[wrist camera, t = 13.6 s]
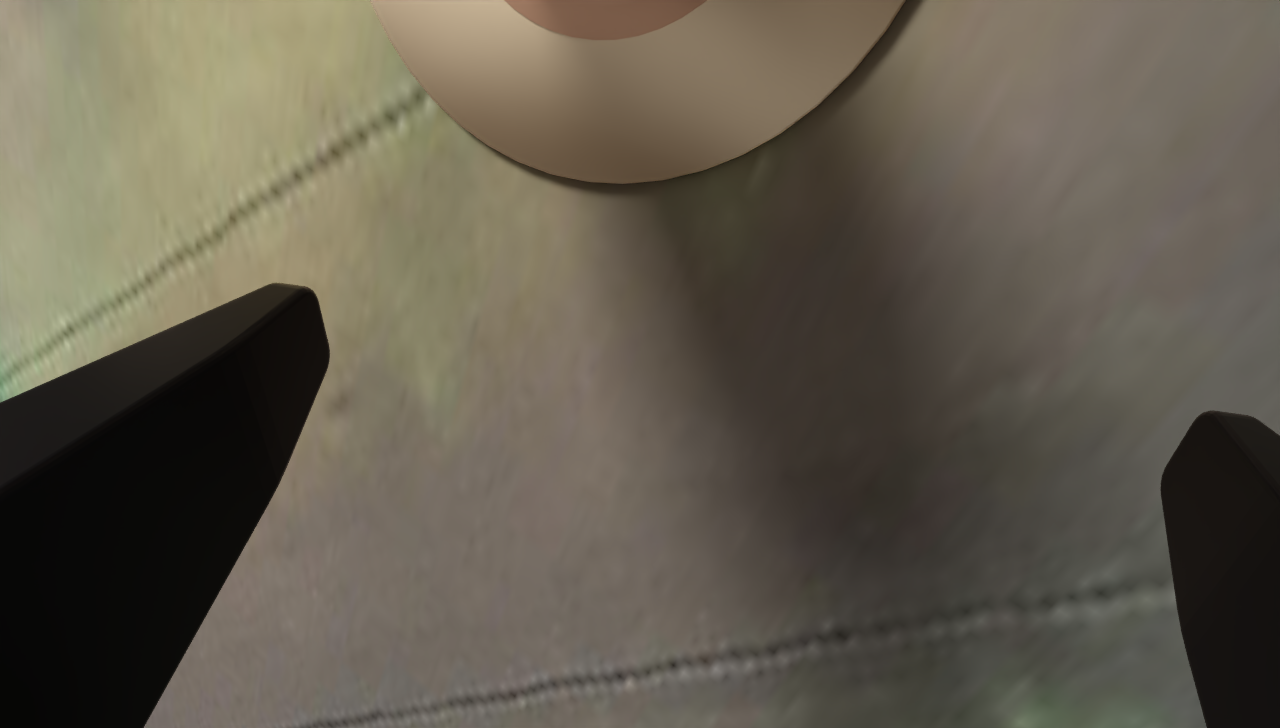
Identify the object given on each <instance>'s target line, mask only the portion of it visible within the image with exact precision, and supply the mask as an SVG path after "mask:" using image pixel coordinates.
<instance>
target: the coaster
mask: <svg viewBox="0 0 1280 728" xmlns="http://www.w3.org/2000/svg"><path fill="white" fill-rule="evenodd" d="M905 1H906V0H639V1H636V2H633V3H629V4H624V5H619V6H610V7H595V6H586V5H581V4H576V3H573V2H569V1H566V0H370V2H371V4H372V6H373V8H374V10H375V12H376V14H377V16H378V18H379V20H380V22H381V24H382V26H383V28H384V30H385V32H386V34H387V36H388V38H389V40H390V42H391V43H392V45H393V46H394V48H395V49H396V51H397V52H398V54H399V56H400V57H401V59H402V60H403V62H404V63H405V65H406V66H407V68H408V70H409V71H410V72H411V73H412V75H413V76H414V77H415V78H416V80H417V81H418V82H419V83H420V84H421V86H422V87H423V88H424V89H425V91H426V92H427V93H428V94H429V95H430V97H431V98H432V99H433V100H434V101H435V102H436V103H437V104H438V105H439V106H440V107H441V108H442V109H443V110H444V111H445V112H446V113H448V114H449V115H450V116H451V117H452V118H453V119H454V120H455V121H456V122H457V123H458V124H459V125H460V126H462V127H463V128H465V129H466V130H467V131H469V132H470V133H471V134H473V135H474V136H475V137H477V138H478V139H480V140H481V141H482V142H484V143H485V144H486V145H488V146H490V147H491V148H493V149H495V150H497V151H499V152H501V153H503V154H504V155H506V156H508V157H510V158H512V159H514V160H516V161H517V162H519V163H522V164H525V165H528V166H530V167H533V168H536V169H538V170H541V171H544V172H547V173H549V174H552V175H557V176H562V177H566V178H571V179H576V180H581V181H586V182H599V183H617V184H628V183H639V182H650V181H661V180H666V179H670V178H674V177H679V176H683V175H687V174H691V173H695V172H699V171H703V170H706V169H709V168H711V167H714V166H716V165H719V164H721V163H724V162H727V161H729V160H732V159H734V158H737V157H739V156H742V155H744V154H746V153H747V152H749V151H751V150H753V149H754V148H756V147H758V146H760V145H762V144H763V143H765V142H767V141H769V140H770V139H772V138H774V137H776V136H777V135H779V134H781V133H782V132H784V131H785V130H786V129H788V128H789V127H790V126H792V125H793V124H794V123H796V122H797V121H798V120H800V119H801V118H802V117H804V116H805V115H806V114H808V113H809V112H810V111H812V110H813V109H814V108H816V107H817V106H818V105H819V104H820V103H821V102H822V101H823V100H824V99H826V98H827V97H828V96H829V95H830V94H831V93H832V92H833V91H834V90H835V89H836V88H837V87H838V86H839V85H840V84H841V83H842V82H843V81H844V80H845V79H846V78H847V77H848V76H849V75H850V74H851V73H852V72H853V71H854V70H855V69H856V68H857V67H858V65H859V64H860V63H861V62H862V60H863V59H864V58H865V57H866V55H867V54H868V53H869V52H870V51H871V49H872V48H873V47H874V46H875V44H876V43H877V42H878V41H879V39H880V38H881V37H882V36H883V35H884V33H885V32H886V31H887V29H888V28H889V26H890V25H891V23H892V21H893V20H894V18H895V17H896V15H897V14H898V12H899V10H900V9H901V7H902V6H903V4H904V3H905Z"/></svg>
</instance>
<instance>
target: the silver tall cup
mask: <svg viewBox="0 0 1280 728" xmlns="http://www.w3.org/2000/svg"><path fill="white" fill-rule="evenodd" d="M566 1H569V2H573V3H576V4H581V5H586V6H595V7H610V6H619V5H624V4H629V3H633V2H636V1H639V0H566Z"/></svg>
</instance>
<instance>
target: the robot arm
mask: <svg viewBox="0 0 1280 728" xmlns="http://www.w3.org/2000/svg"><path fill="white" fill-rule="evenodd" d="M329 358H330V349H329V343H328V339H327V335H326V331H325V327H324V322H323V318H322V314H321V310H320V306H319V301H318V299H317V296H316V294H315V293H314V291H313V290H311V289H310V288H308V287H305V286H298V285H291V284H284V283H272V284H269V285H267V286H264V287H262V288H260V289H257V290H255V291H253V292H251V293H248V294H246V295H244V296H242V297H239V298H237V299H235V300H232V301H230V302H228V303H226V304H223V305H221V306H219V307H217V308H214V309H212V310H210V311H207V312H205V313H203V314H201V315H198V316H196V317H194V318H192V319H189V320H187V321H185V322H183V323H180V324H178V325H176V326H173V327H171V328H169V329H167V330H164V331H162V332H160V333H158V334H155V335H153V336H151V337H148V338H146V339H144V340H142V341H139V342H137V343H135V344H133V345H130V346H128V347H126V348H123V349H121V350H119V351H117V352H114V353H112V354H110V355H108V356H105V357H103V358H101V359H99V360H96V361H94V362H92V363H89V364H87V365H85V366H83V367H80V368H78V369H76V370H74V371H71V372H69V373H67V374H64V375H62V376H60V377H58V378H55V379H53V380H51V381H49V382H46V383H44V384H42V385H40V386H37V387H35V388H33V389H30V390H28V391H26V392H24V393H21V394H19V395H17V396H15V397H12V398H10V399H8V400H5V401H3V402H1V403H0V728H144V726H145V724H146V722H147V721H148V719H149V717H150V715H151V714H152V712H153V710H154V708H155V706H156V705H157V703H158V701H159V699H160V697H161V696H162V694H163V692H164V690H165V688H166V687H167V685H168V683H169V681H170V680H171V678H172V676H173V674H174V672H175V671H176V669H177V667H178V665H179V663H180V662H181V660H182V658H183V656H184V654H185V653H186V651H187V649H188V647H189V645H190V644H191V642H192V640H193V638H194V637H195V635H196V633H197V631H198V629H199V628H200V626H201V624H202V622H203V620H204V619H205V617H206V615H207V613H208V611H209V610H210V608H211V606H212V604H213V603H214V601H215V599H216V597H217V595H218V594H219V592H220V590H221V588H222V586H223V585H224V583H225V581H226V579H227V577H228V576H229V574H230V572H231V570H232V569H233V567H234V565H235V563H236V561H237V560H238V558H239V556H240V554H241V552H242V551H243V549H244V547H245V545H246V543H247V542H248V540H249V538H250V536H251V534H252V533H253V531H254V529H255V527H256V526H257V524H258V522H259V520H260V518H261V517H262V515H263V513H264V511H265V509H266V508H267V506H268V504H269V502H270V500H271V498H272V496H273V495H274V493H275V491H276V489H277V487H278V485H279V483H280V481H281V479H282V476H283V474H284V472H285V470H286V468H287V465H288V463H289V461H290V458H291V456H292V453H293V451H294V449H295V446H296V444H297V441H298V439H299V436H300V434H301V432H302V429H303V427H304V424H305V422H306V420H307V417H308V415H309V412H310V410H311V408H312V405H313V403H314V400H315V398H316V395H317V393H318V391H319V388H320V386H321V383H322V381H323V379H324V376H325V374H326V371H327V368H328V364H329ZM1161 498H1162V505H1163V512H1164V519H1165V526H1166V533H1167V540H1168V547H1169V554H1170V561H1171V568H1172V575H1173V582H1174V589H1175V596H1176V603H1177V610H1178V615H1179V621H1180V627H1181V632H1182V636H1183V640H1184V644H1185V648H1186V652H1187V656H1188V660H1189V664H1190V667H1191V671H1192V675H1193V678H1194V682H1195V686H1196V689H1197V693H1198V697H1199V700H1200V704H1201V708H1202V711H1203V715H1204V719H1205V723H1206V726H1207V728H1280V436H1279V435H1278V434H1277V433H1275V432H1274V431H1273V430H1271V429H1270V428H1268V427H1267V426H1266V425H1264V424H1263V423H1262V422H1260V421H1259V420H1257V419H1256V418H1254V417H1251V416H1248V415H1242V414H1235V413H1227V412H1220V411H1207V412H1204V413H1202V414H1201V415H1199V416H1198V417H1197V418H1196V419H1195V421H1194V422H1193V423H1192V425H1191V427H1190V428H1189V430H1188V431H1187V433H1186V435H1185V436H1184V438H1183V439H1182V441H1181V443H1180V444H1179V446H1178V448H1177V449H1176V451H1175V452H1174V454H1173V456H1172V457H1171V459H1170V461H1169V462H1168V464H1167V465H1166V467H1165V469H1164V472H1163V475H1162V480H1161Z"/></svg>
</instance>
